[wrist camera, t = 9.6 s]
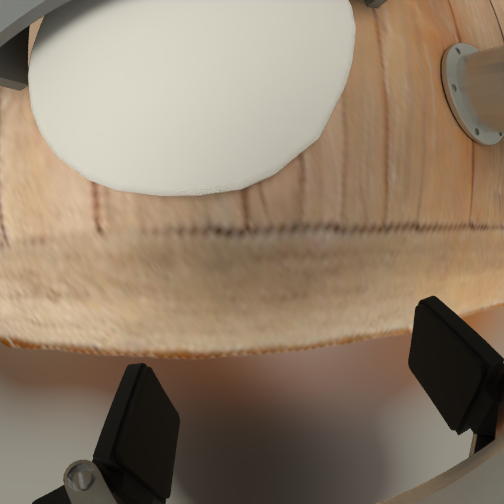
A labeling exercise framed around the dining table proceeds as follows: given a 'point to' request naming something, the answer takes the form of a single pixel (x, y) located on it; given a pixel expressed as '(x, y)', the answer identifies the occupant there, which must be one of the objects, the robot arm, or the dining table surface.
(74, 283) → the dining table surface
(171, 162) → the plate
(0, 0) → the shelf
